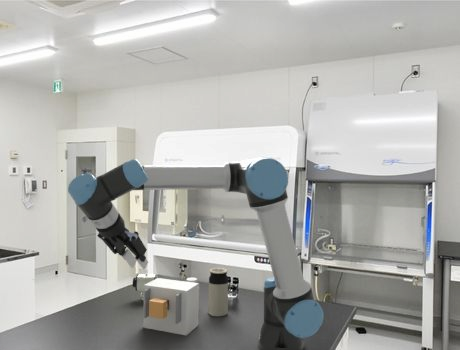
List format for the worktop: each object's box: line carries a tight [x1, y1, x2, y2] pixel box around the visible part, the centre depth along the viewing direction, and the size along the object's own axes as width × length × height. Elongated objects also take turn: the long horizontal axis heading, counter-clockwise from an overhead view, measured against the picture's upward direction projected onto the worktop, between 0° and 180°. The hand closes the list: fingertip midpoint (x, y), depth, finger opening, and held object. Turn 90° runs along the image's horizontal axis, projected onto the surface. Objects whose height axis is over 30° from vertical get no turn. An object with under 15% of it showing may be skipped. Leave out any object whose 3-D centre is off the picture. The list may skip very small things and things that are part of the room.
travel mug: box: [208, 267, 229, 318], centre depth 155 cm, size 8×8×18 cm
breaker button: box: [149, 298, 169, 319], centre depth 134 cm, size 7×6×6 cm
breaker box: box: [142, 277, 200, 336], centre depth 140 cm, size 13×18×16 cm
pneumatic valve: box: [132, 272, 159, 301], centre depth 170 cm, size 6×12×12 cm, turn 93°
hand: (139, 264), depth 121 cm, fingers open, 4 cm apart
